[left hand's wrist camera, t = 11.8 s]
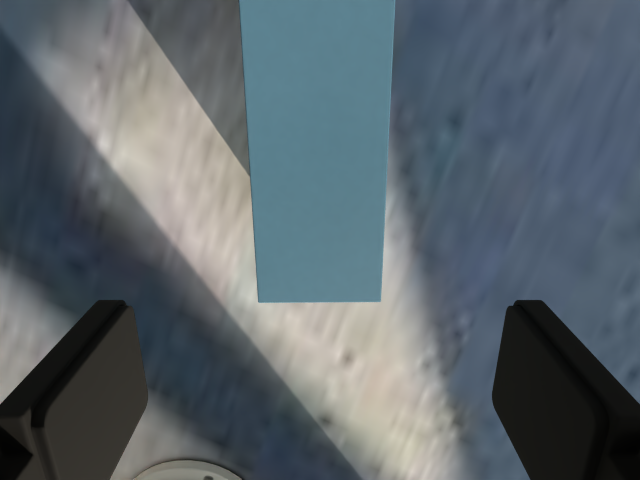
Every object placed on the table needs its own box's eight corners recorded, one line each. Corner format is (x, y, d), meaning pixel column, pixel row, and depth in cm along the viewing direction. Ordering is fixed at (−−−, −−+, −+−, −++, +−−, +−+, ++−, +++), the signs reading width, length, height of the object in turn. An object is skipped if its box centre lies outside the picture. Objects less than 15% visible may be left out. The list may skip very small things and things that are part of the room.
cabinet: (264, -119, 25) (221, -263, 14) (369, -120, 25) (408, -265, 14) (279, 221, 32) (257, 303, 21) (360, 220, 32) (381, 302, 21)
